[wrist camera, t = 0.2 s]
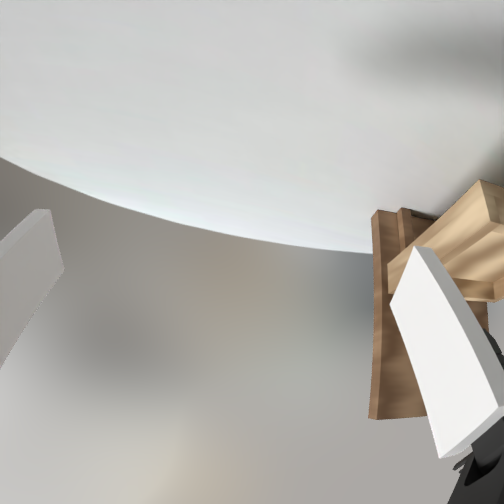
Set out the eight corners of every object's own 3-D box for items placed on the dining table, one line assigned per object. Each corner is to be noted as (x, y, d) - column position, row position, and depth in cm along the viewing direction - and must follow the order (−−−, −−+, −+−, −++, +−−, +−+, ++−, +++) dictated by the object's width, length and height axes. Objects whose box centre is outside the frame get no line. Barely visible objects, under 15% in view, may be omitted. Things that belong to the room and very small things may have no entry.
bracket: (559, 157, 19) (603, 393, 11) (468, 236, 36) (476, 406, 28) (452, 104, 19) (501, 436, 10) (371, 218, 36) (368, 417, 27)
